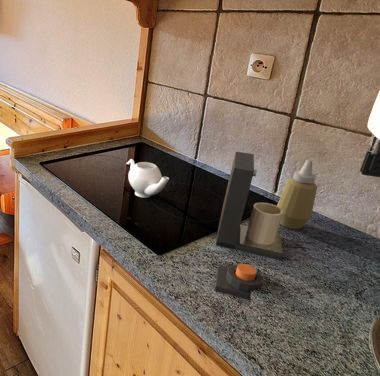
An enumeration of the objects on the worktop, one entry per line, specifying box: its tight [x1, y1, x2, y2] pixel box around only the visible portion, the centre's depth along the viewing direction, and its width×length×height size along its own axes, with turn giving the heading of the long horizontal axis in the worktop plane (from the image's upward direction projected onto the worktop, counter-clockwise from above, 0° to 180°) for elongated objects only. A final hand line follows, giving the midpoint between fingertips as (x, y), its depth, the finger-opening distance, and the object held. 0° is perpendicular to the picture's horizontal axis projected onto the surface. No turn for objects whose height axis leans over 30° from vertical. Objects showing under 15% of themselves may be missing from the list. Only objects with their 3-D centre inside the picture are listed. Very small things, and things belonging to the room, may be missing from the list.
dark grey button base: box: [214, 264, 271, 301], centre depth 82 cm, size 10×8×3 cm
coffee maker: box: [215, 151, 284, 261], centre depth 95 cm, size 14×12×20 cm
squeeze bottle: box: [276, 159, 318, 230], centre depth 103 cm, size 8×8×18 cm
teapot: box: [125, 158, 170, 199], centre depth 119 cm, size 10×20×9 cm, turn 21°
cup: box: [246, 202, 283, 245], centre depth 96 cm, size 6×6×8 cm
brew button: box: [235, 263, 258, 281], centre depth 81 cm, size 4×4×2 cm
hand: (370, 174), depth 73 cm, fingers closed
